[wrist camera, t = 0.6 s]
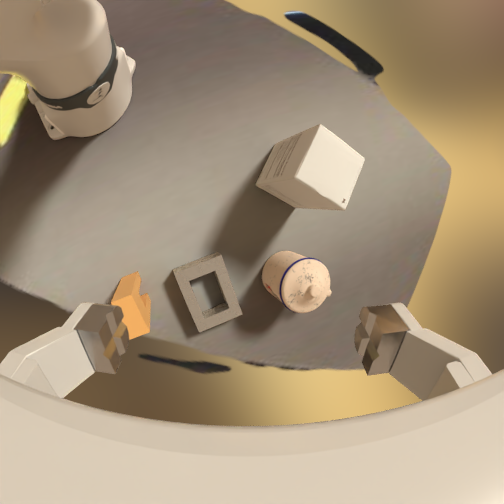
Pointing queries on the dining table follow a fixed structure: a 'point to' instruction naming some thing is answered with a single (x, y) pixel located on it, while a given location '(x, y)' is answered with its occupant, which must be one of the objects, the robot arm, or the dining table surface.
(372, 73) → the dining table surface
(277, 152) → the supplement box
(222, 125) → the dining table surface
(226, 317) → the rectangular frame block
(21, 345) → the robot arm
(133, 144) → the dining table surface
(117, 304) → the orange notched arch block
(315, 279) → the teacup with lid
